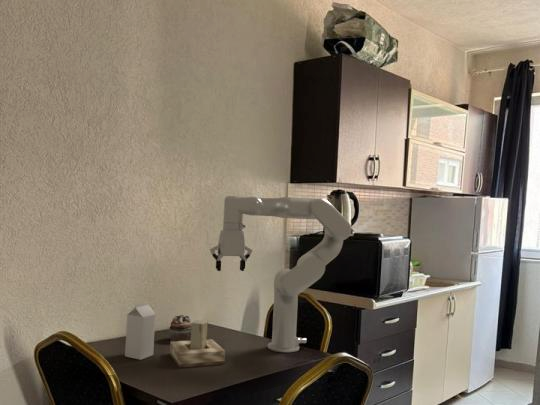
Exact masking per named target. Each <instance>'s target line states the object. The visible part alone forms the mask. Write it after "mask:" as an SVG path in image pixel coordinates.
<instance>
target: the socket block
mask: <svg viewBox="0 0 540 405" xmlns="http://www.w3.org/2000/svg"><path fill="white" fill-rule="evenodd" d="M169 343H170V344H169V355H170V357H172V359H173V361H174V362H175V364H176V365H177V366H178V367H179V368H190V367H201V366H202V367H203V366H204V367H205V366H213V365H214V366H216V365H225V363H226V362H225V361H226V360H225V359H226V350H225V349H223V347H222V346H220V345H219V344H218V343H217V342H216V341H215V340H214V339H211V338H209V339H208V338H207V341H206V349H195V350H190V343H191V340H190V341H174V342H172V341H170V342H169Z"/></svg>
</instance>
